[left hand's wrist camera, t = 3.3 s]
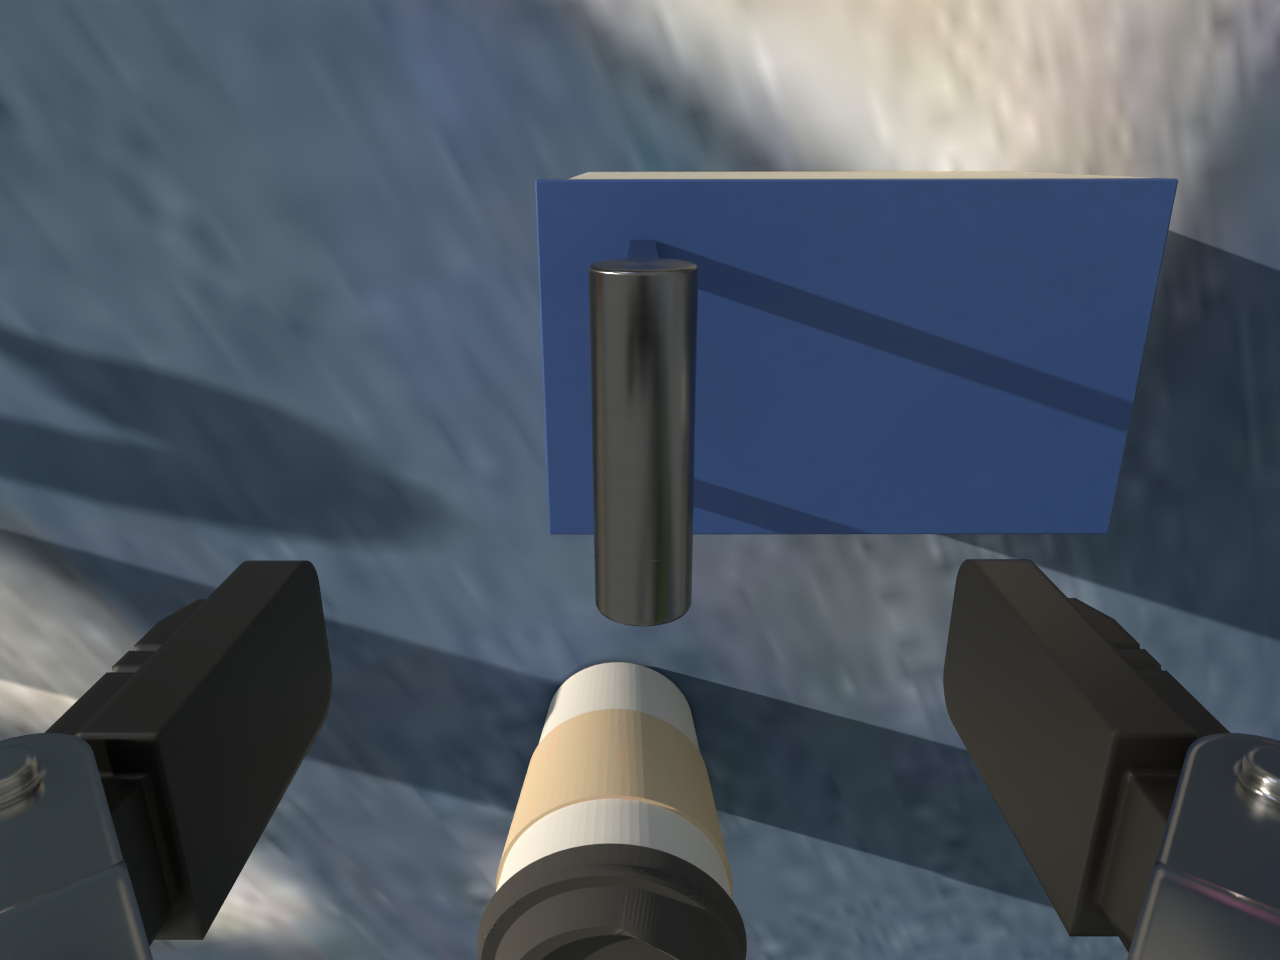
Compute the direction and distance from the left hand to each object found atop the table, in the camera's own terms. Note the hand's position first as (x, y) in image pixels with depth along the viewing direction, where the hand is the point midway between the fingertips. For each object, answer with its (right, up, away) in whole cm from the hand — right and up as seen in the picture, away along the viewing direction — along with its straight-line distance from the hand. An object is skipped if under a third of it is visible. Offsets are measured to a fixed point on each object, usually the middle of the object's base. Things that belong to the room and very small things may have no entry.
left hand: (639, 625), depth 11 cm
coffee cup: (-1, -10, +31) cm, 32 cm away
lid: (+6, +5, +14) cm, 16 cm away
